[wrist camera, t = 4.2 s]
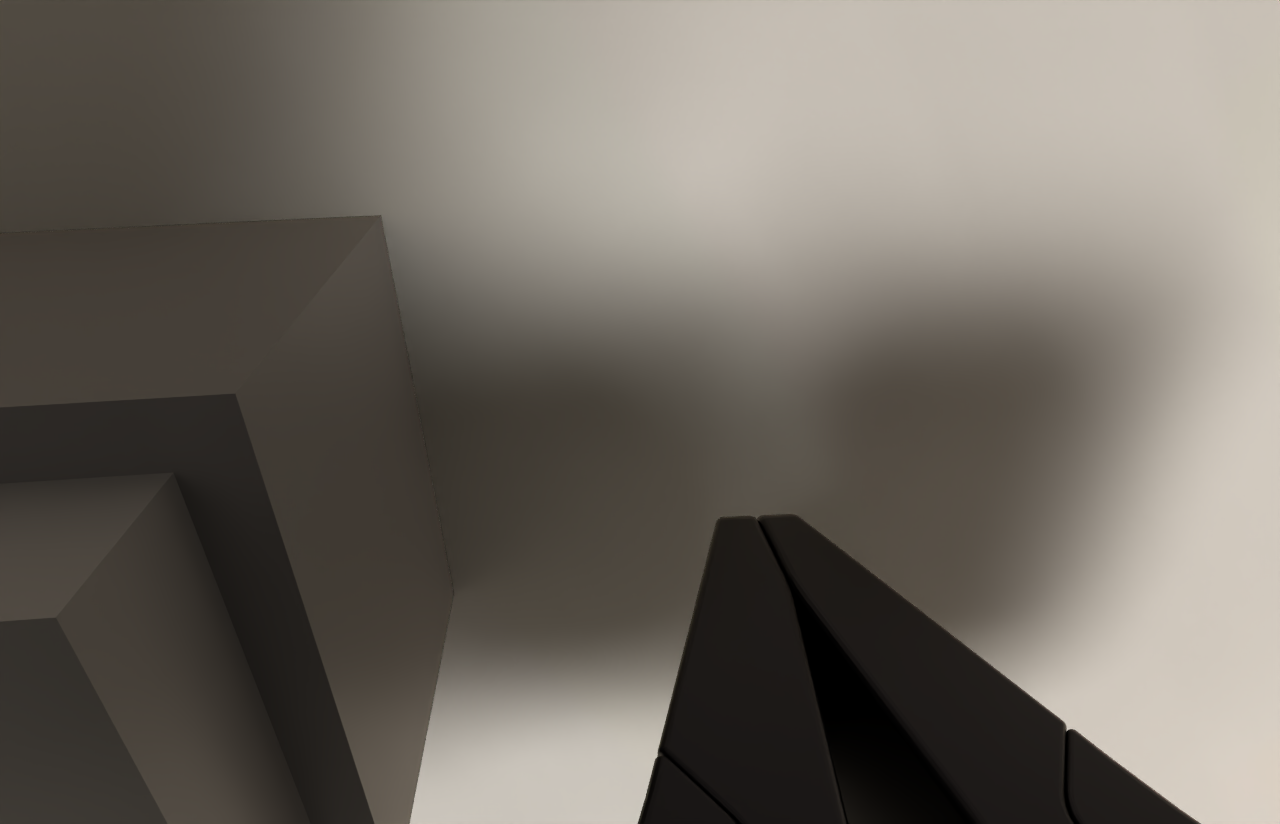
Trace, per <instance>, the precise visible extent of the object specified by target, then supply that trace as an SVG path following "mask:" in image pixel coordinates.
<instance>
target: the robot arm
mask: <svg viewBox="0 0 1280 824" xmlns="http://www.w3.org/2000/svg"><path fill="white" fill-rule="evenodd" d="M638 824H1200V823H1199V822H1198V821H1196V820H1195V819H1193V818H1192V817H1190V816H1189V815H1187V814H1186V813H1185V812H1183V811H1182V810H1180V809H1179V808H1178V807H1176V806H1175V805H1174V804H1172V803H1171V802H1170V801H1168V800H1167V799H1165V798H1164V797H1163V796H1161V795H1160V794H1159V793H1157V792H1156V791H1155V790H1153V789H1152V788H1151V787H1149V786H1148V785H1147V784H1145V783H1144V782H1143V781H1141V780H1140V779H1139V778H1137V777H1136V776H1135V775H1133V774H1132V773H1131V772H1129V771H1128V770H1127V769H1125V768H1124V767H1123V766H1121V765H1120V764H1118V763H1117V762H1116V761H1114V760H1113V759H1112V758H1111V757H1109V756H1108V755H1107V754H1105V753H1104V752H1103V751H1102V750H1100V749H1099V748H1098V747H1096V746H1095V745H1094V744H1092V743H1091V742H1090V741H1089V740H1087V739H1086V738H1085V737H1083V736H1082V735H1081V734H1080V733H1078V732H1077V731H1076V730H1073V729H1070V730H1068V731H1067V732H1066V724H1065V723H1064V722H1063V721H1062V720H1061V719H1060V718H1058V717H1057V716H1056V715H1055V714H1053V713H1052V712H1051V711H1049V710H1048V709H1047V708H1046V707H1044V706H1043V705H1042V704H1040V703H1039V702H1038V701H1036V700H1035V699H1034V698H1033V697H1031V696H1030V695H1029V694H1027V693H1026V692H1025V691H1024V690H1022V689H1021V688H1020V687H1018V686H1017V685H1016V684H1015V683H1013V682H1012V681H1011V680H1009V679H1008V678H1007V677H1005V676H1004V675H1003V674H1002V673H1000V672H999V671H998V670H996V669H995V668H994V667H993V666H991V665H990V664H989V663H987V662H986V661H985V660H984V659H982V658H981V657H980V656H978V655H977V654H976V653H974V652H973V651H972V650H971V649H969V648H968V647H967V646H965V645H964V644H963V643H962V642H960V641H959V640H958V639H956V638H955V637H954V636H953V635H951V634H950V633H949V632H947V631H946V630H945V629H944V628H942V627H941V626H940V625H938V624H937V623H936V622H934V621H933V620H932V619H931V618H929V617H928V616H927V615H925V614H924V613H923V612H922V611H920V610H919V609H918V608H916V607H915V606H914V605H913V604H911V603H910V602H909V601H907V600H906V599H905V598H903V597H902V596H901V595H900V594H898V593H897V592H896V591H894V590H893V589H892V588H891V587H889V586H888V585H887V584H885V583H884V582H883V581H882V580H880V579H879V578H878V577H876V576H875V575H874V574H872V573H871V572H870V571H869V570H867V569H866V568H865V567H863V566H862V565H861V564H860V563H858V562H857V561H856V560H854V559H853V558H852V557H851V556H849V555H848V554H847V553H845V552H844V551H843V550H842V549H840V548H839V547H838V546H836V545H835V544H834V543H832V542H831V541H830V540H829V539H827V538H826V537H825V536H823V535H822V534H821V533H820V532H818V531H817V530H816V529H814V528H813V527H812V526H811V525H809V524H808V523H807V522H805V521H804V520H803V519H801V518H800V517H798V516H797V515H794V514H779V515H762V516H760V517H759V518H758V519H756V518H754V517H752V516H732V517H721V518H719V519H718V520H717V521H716V525H715V528H714V532H713V536H712V540H711V544H710V548H709V552H708V556H707V560H706V564H705V568H704V572H703V576H702V579H701V583H700V587H699V591H698V595H697V599H696V603H695V607H694V611H693V615H692V619H691V623H690V627H689V631H688V635H687V638H686V642H685V646H684V650H683V654H682V658H681V662H680V666H679V670H678V674H677V678H676V682H675V686H674V690H673V694H672V697H671V701H670V705H669V709H668V713H667V717H666V721H665V725H664V729H663V733H662V737H661V741H660V745H659V749H658V757H657V758H656V759H655V762H654V766H653V770H652V774H651V778H650V782H649V786H648V790H647V794H646V798H645V801H644V804H643V808H642V811H641V814H640V818H639V821H638Z"/></svg>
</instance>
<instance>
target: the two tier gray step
mask: <svg viewBox="0 0 1280 824" xmlns="http://www.w3.org/2000/svg"><path fill="white" fill-rule="evenodd" d="M453 595H454V591H453V586H452V581H451V575H450V570H449V565H448V560H447V555H446V550H445V544H444V539H443V534H442V529H441V524H440V518H439V513H438V508H437V503H436V498H435V493H434V487H433V482H432V477H431V472H430V467H429V462H428V456H427V451H426V446H425V441H424V436H423V430H422V425H421V420H420V415H419V410H418V405H417V399H416V394H415V389H414V384H413V379H412V373H411V368H410V363H409V358H408V353H407V348H406V342H405V337H404V332H403V327H402V322H401V317H400V311H399V306H398V301H397V296H396V291H395V285H394V280H393V275H392V270H391V265H390V260H389V254H388V249H387V244H386V239H385V234H384V228H383V223H382V218H381V215H376V216H355V217H334V218H312V219H291V220H269V221H248V222H227V223H205V224H184V225H162V226H141V227H119V228H98V229H77V230H55V231H34V232H12V233H0V824H409V823H410V818H411V813H412V807H413V802H414V797H415V792H416V787H417V782H418V776H419V771H420V766H421V761H422V756H423V751H424V745H425V740H426V735H427V730H428V725H429V720H430V714H431V709H432V704H433V699H434V694H435V689H436V683H437V678H438V673H439V668H440V663H441V658H442V652H443V647H444V642H445V637H446V632H447V626H448V621H449V616H450V611H451V606H452V601H453Z"/></svg>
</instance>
